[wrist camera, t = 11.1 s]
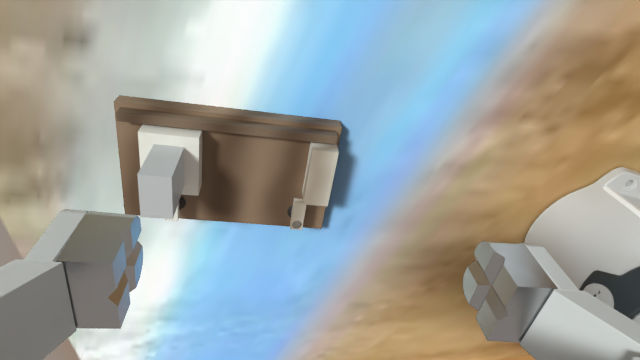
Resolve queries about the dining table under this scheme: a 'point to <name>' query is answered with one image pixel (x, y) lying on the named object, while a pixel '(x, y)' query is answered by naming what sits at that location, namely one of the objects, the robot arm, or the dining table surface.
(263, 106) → the dining table surface
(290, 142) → the brown board with blocks
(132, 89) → the dining table surface
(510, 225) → the dining table surface
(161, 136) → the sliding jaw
